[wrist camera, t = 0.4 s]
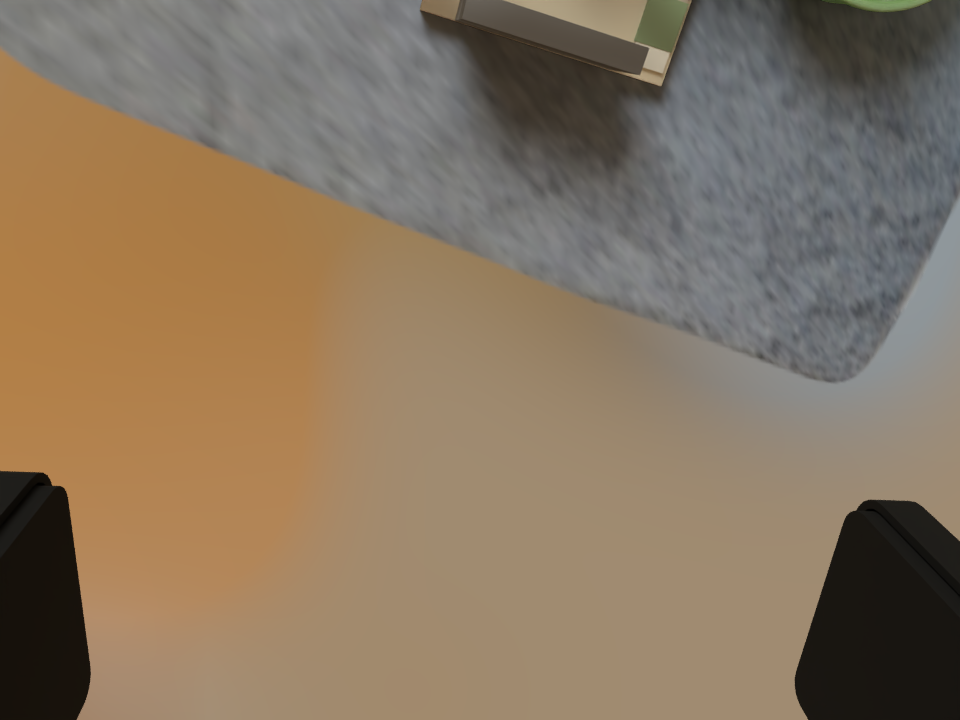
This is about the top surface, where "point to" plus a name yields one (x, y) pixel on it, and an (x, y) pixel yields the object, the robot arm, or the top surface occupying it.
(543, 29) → the stand
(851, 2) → the ramekin
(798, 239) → the top surface
